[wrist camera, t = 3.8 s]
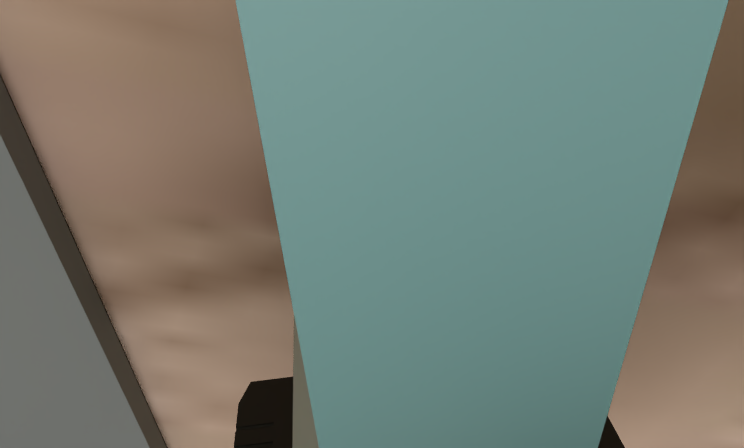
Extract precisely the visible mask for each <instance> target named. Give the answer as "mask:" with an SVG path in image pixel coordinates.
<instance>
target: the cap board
mask: <svg viewBox="0 0 744 448" xmlns="http://www.w3.org/2000/svg"><path fill="white" fill-rule="evenodd" d="M0 448H167V447H166V445H165V443H164V440H163V438H162V436H161V434H160V432H159V429H158V427H157V425H156V423H155V420H154V418H153V416H152V414H151V411H150V409H149V407H148V405H147V403H146V400H145V398H144V396H143V394H142V391H141V389H140V387H139V385H138V382H137V380H136V378H135V376H134V373H133V371H132V369H131V367H130V365H129V362H128V360H127V358H126V356H125V353H124V351H123V349H122V347H121V344H120V342H119V340H118V338H117V336H116V333H115V331H114V329H113V327H112V324H111V322H110V320H109V318H108V315H107V313H106V311H105V309H104V307H103V304H102V302H101V300H100V298H99V295H98V293H97V291H96V289H95V286H94V284H93V282H92V280H91V277H90V275H89V273H88V271H87V269H86V266H85V264H84V262H83V260H82V257H81V255H80V253H79V251H78V248H77V246H76V244H75V242H74V240H73V237H72V235H71V233H70V231H69V228H68V226H67V224H66V222H65V219H64V217H63V215H62V213H61V211H60V208H59V206H58V204H57V202H56V199H55V197H54V195H53V193H52V190H51V188H50V186H49V184H48V181H47V179H46V177H45V175H44V173H43V170H42V168H41V166H40V164H39V161H38V159H37V157H36V155H35V152H34V150H33V148H32V146H31V144H30V141H29V139H28V137H27V135H26V132H25V130H24V128H23V126H22V123H21V121H20V119H19V117H18V115H17V112H16V110H15V108H14V106H13V103H12V101H11V99H10V97H9V94H8V92H7V90H6V88H5V85H4V83H3V81H2V79H1V77H0Z"/></svg>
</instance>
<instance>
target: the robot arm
mask: <svg viewBox="0 0 744 448" xmlns="http://www.w3.org/2000/svg"><path fill="white" fill-rule="evenodd" d="M234 448H319V445H318V440H317V434H316V429H315V424H314V418H313V413H312V408H311V402H310V397H309V391H308V386H307V381H306V375H305V370H304V365H303V359H302V354H301V349H300V343H299V338H298V332H297V327H296V322H295V316H294V363H293V377H287V378H279V379H271V380H263V381H255V382H251V383H250V384H249V386H248V388H247V390H246V392H245V393H244V395H243V397H242V399H241V400H240V402H239V405H238V414H237V423H236V432H235V441H234ZM598 448H625V447H624V445H623V444H622V442H621V440H620V438H619V436H618V434H617V433H616V431H615V429H614V427H613V425H612V423H611V422H610V420H609V418H608V416H607V418H606V421H605V425H604V428H603V432H602V435H601V438H600V442H599V445H598Z"/></svg>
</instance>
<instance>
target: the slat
mask: <svg viewBox="0 0 744 448" xmlns="http://www.w3.org/2000/svg"><path fill="white" fill-rule="evenodd" d="M727 4H728V0H236V5H237V11H238V16H239V22H240V27H241V32H242V38H243V43H244V48H245V54H246V59H247V64H248V70H249V75H250V81H251V86H252V91H253V97H254V102H255V107H256V113H257V118H258V123H259V129H260V134H261V139H262V145H263V150H264V156H265V161H266V166H267V172H268V177H269V182H270V188H271V193H272V198H273V204H274V209H275V215H276V220H277V225H278V231H279V236H280V241H281V247H282V252H283V257H284V263H285V268H286V274H287V279H288V284H289V290H290V295H291V300H292V306H293V311H294V316H295V322H296V327H297V332H298V338H299V343H300V349H301V354H302V359H303V365H304V370H305V375H306V381H307V386H308V391H309V397H310V402H311V408H312V413H313V418H314V424H315V429H316V434H317V440H318V445H319V448H598V445H599V442H600V438H601V435H602V432H603V428H604V425H605V421H606V418H607V415H608V411H609V408H610V404H611V401H612V397H613V394H614V391H615V387H616V384H617V380H618V377H619V373H620V370H621V367H622V363H623V360H624V356H625V353H626V349H627V346H628V343H629V339H630V336H631V332H632V329H633V326H634V322H635V319H636V315H637V312H638V308H639V305H640V302H641V298H642V295H643V291H644V288H645V284H646V281H647V278H648V274H649V271H650V267H651V264H652V260H653V257H654V254H655V250H656V247H657V243H658V240H659V237H660V233H661V230H662V226H663V223H664V219H665V216H666V213H667V209H668V206H669V202H670V199H671V195H672V192H673V189H674V185H675V182H676V178H677V175H678V171H679V168H680V165H681V161H682V158H683V154H684V151H685V148H686V144H687V141H688V137H689V134H690V130H691V127H692V124H693V120H694V117H695V113H696V110H697V106H698V103H699V100H700V96H701V93H702V89H703V86H704V82H705V79H706V76H707V72H708V69H709V65H710V62H711V59H712V55H713V52H714V48H715V45H716V41H717V38H718V35H719V31H720V28H721V24H722V21H723V17H724V14H725V11H726V7H727Z"/></svg>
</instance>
